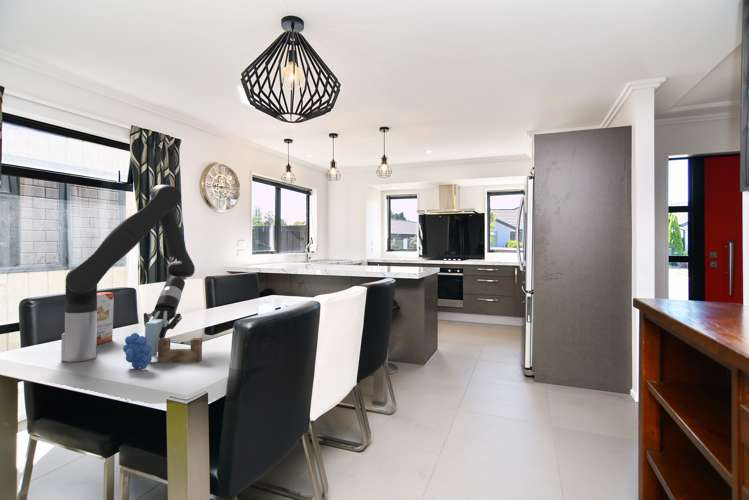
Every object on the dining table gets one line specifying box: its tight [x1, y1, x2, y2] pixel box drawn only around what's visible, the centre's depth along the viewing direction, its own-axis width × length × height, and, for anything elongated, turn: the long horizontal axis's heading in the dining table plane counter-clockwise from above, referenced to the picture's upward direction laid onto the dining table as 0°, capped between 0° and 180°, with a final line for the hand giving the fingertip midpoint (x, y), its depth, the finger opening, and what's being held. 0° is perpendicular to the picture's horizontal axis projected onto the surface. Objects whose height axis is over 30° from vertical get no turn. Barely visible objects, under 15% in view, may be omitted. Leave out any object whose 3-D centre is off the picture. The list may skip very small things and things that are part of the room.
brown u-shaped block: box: [157, 337, 203, 364], centre depth 139 cm, size 14×3×8 cm, turn 97°
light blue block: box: [144, 319, 166, 358], centre depth 141 cm, size 4×8×12 cm, turn 7°
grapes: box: [122, 332, 153, 370], centre depth 128 cm, size 12×7×12 cm, turn 72°
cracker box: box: [96, 291, 115, 345], centre depth 160 cm, size 14×6×21 cm, turn 168°
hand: (154, 337), depth 141 cm, fingers closed on light blue block, 3 cm apart
